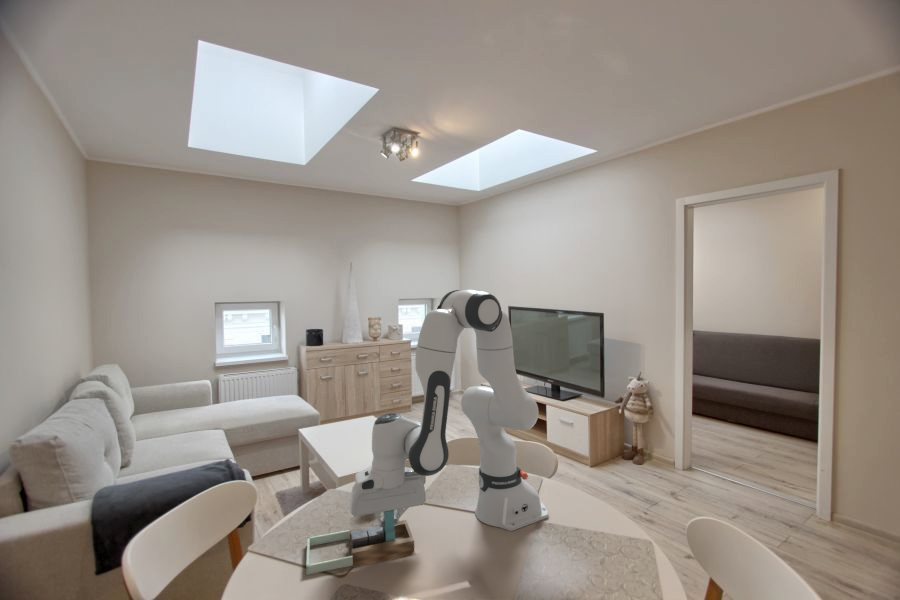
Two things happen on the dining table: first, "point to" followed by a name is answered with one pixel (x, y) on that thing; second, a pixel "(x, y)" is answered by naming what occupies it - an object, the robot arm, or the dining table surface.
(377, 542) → the blue-grey cube
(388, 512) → the pale teal upright block
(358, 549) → the slot board
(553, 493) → the dining table surface
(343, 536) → the tray
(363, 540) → the chip
